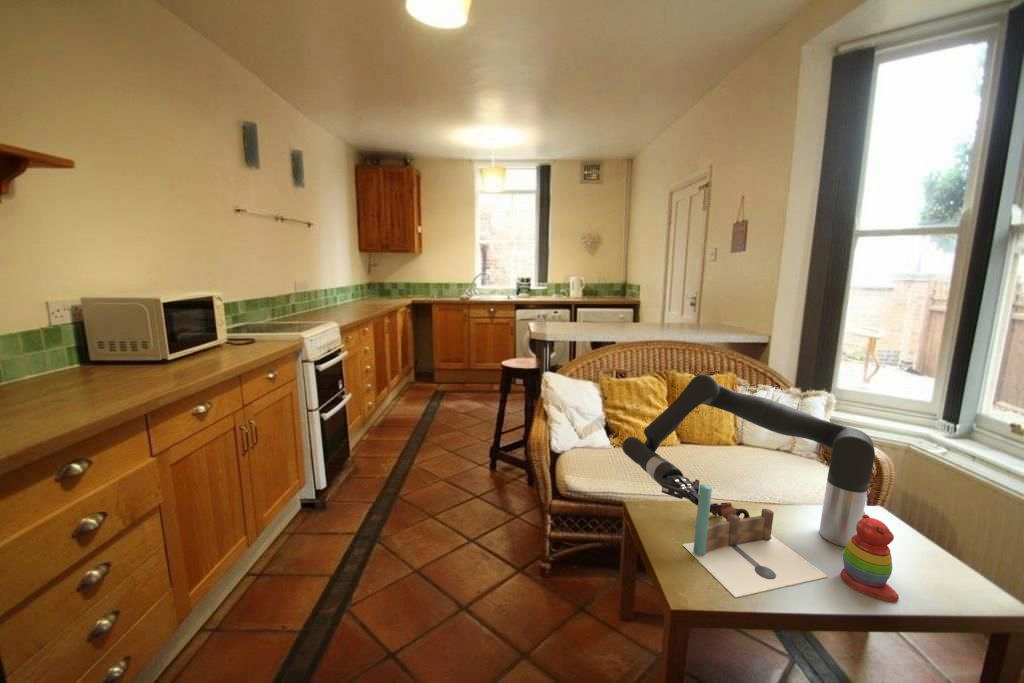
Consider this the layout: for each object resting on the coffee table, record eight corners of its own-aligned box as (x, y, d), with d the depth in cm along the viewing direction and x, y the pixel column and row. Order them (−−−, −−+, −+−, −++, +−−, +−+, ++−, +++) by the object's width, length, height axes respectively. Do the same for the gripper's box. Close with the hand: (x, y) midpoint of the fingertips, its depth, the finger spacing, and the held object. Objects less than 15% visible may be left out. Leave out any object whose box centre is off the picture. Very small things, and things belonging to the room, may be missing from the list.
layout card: (764, 530, 127) (764, 529, 127) (828, 577, 108) (828, 576, 108) (682, 545, 120) (682, 544, 119) (735, 598, 100) (735, 596, 100)
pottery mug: (714, 535, 125) (706, 506, 128) (708, 531, 134) (701, 504, 137) (757, 531, 122) (748, 501, 125) (749, 527, 131) (740, 499, 134)
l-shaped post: (721, 540, 121) (729, 478, 117) (730, 546, 118) (738, 483, 115) (690, 549, 117) (697, 485, 113) (699, 556, 114) (706, 490, 110)
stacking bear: (902, 603, 100) (916, 536, 97) (854, 596, 102) (866, 530, 99) (873, 572, 110) (885, 510, 107) (830, 566, 112) (840, 505, 109)
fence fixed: (764, 533, 125) (767, 508, 124) (772, 539, 122) (776, 513, 121) (722, 541, 121) (725, 514, 120) (730, 547, 118) (733, 520, 117)
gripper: (645, 463, 129) (680, 492, 112) (683, 459, 132) (722, 487, 116) (644, 485, 130) (678, 517, 114) (680, 481, 133) (719, 511, 117)
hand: (700, 502), depth 115 cm, fingers closed
